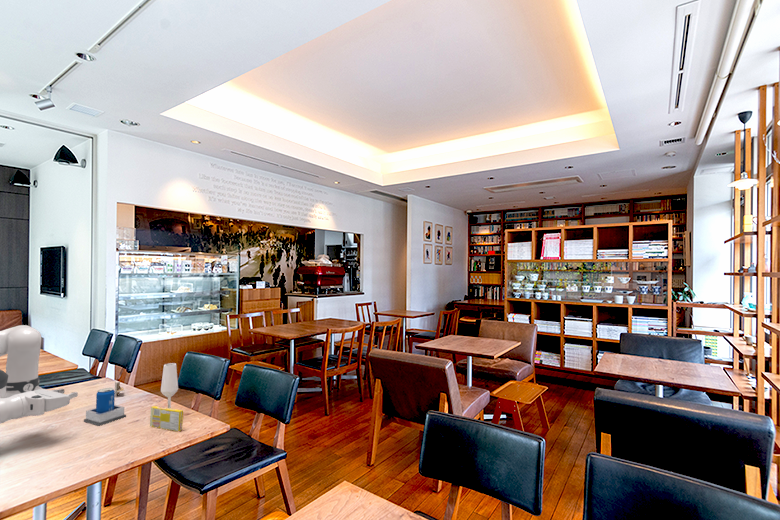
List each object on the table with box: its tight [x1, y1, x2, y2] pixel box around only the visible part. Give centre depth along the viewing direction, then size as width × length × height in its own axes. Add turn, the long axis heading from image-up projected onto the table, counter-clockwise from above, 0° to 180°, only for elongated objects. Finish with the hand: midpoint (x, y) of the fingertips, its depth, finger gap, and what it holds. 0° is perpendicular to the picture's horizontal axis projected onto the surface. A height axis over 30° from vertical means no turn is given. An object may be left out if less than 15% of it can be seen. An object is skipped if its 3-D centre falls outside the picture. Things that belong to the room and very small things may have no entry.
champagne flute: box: [160, 362, 179, 409], centre depth 170 cm, size 7×7×24 cm
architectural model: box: [114, 381, 125, 397], centre depth 201 cm, size 3×7×7 cm, turn 41°
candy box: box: [149, 405, 184, 432], centre depth 160 cm, size 16×2×8 cm, turn 71°
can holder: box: [83, 404, 127, 427], centre depth 169 cm, size 11×11×4 cm
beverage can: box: [95, 387, 116, 413], centre depth 169 cm, size 6×6×12 cm
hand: (70, 392), depth 157 cm, fingers open, 8 cm apart
